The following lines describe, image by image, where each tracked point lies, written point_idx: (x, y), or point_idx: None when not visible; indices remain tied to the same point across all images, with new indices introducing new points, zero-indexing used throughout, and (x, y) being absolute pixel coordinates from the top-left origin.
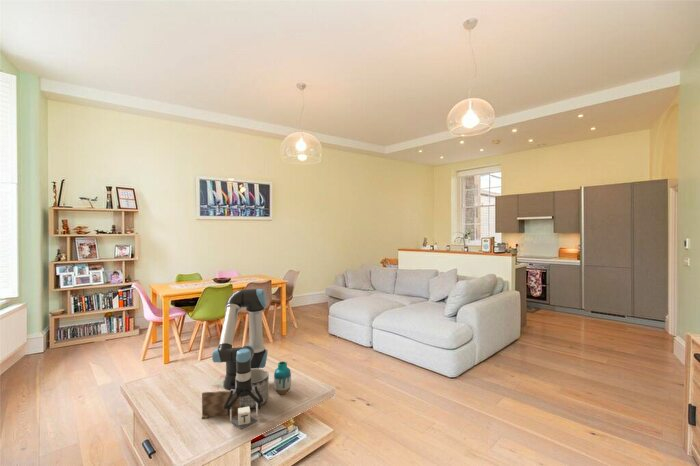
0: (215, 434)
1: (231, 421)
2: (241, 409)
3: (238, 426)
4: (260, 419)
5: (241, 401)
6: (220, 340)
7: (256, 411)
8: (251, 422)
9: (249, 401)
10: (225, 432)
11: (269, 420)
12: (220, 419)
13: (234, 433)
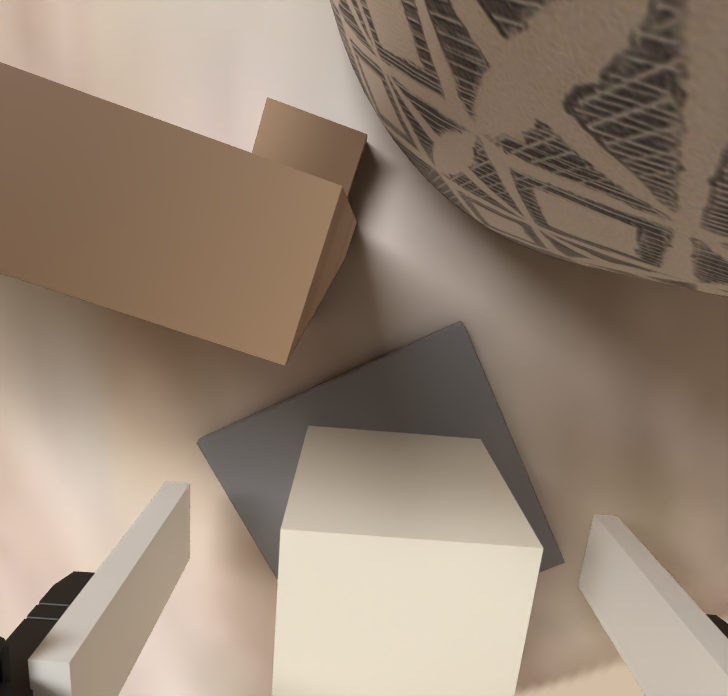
0: (8, 614)
1: (208, 443)
2: (350, 607)
3: None
4: None
5: (415, 133)
6: None
7: (619, 648)
8: None
9: (604, 268)
10: None
11: (705, 609)
12: (43, 289)
13: (239, 683)
